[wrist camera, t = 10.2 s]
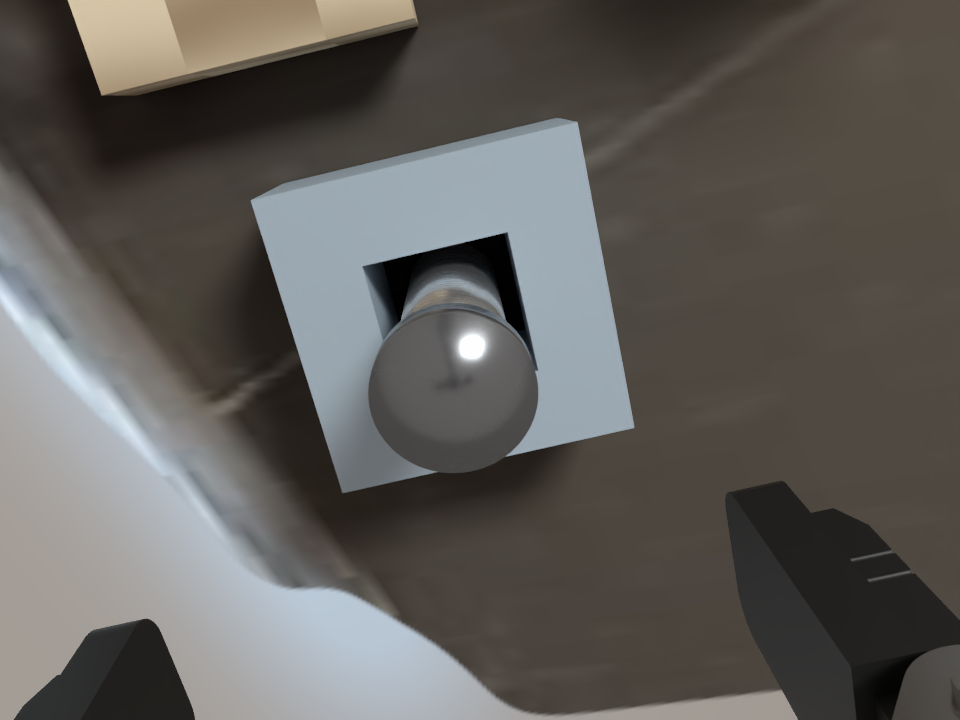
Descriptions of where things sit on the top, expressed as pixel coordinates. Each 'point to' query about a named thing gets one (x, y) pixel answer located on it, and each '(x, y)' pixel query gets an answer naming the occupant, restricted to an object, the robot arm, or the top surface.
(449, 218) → the socket
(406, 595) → the top surface
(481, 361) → the pin
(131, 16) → the mount
